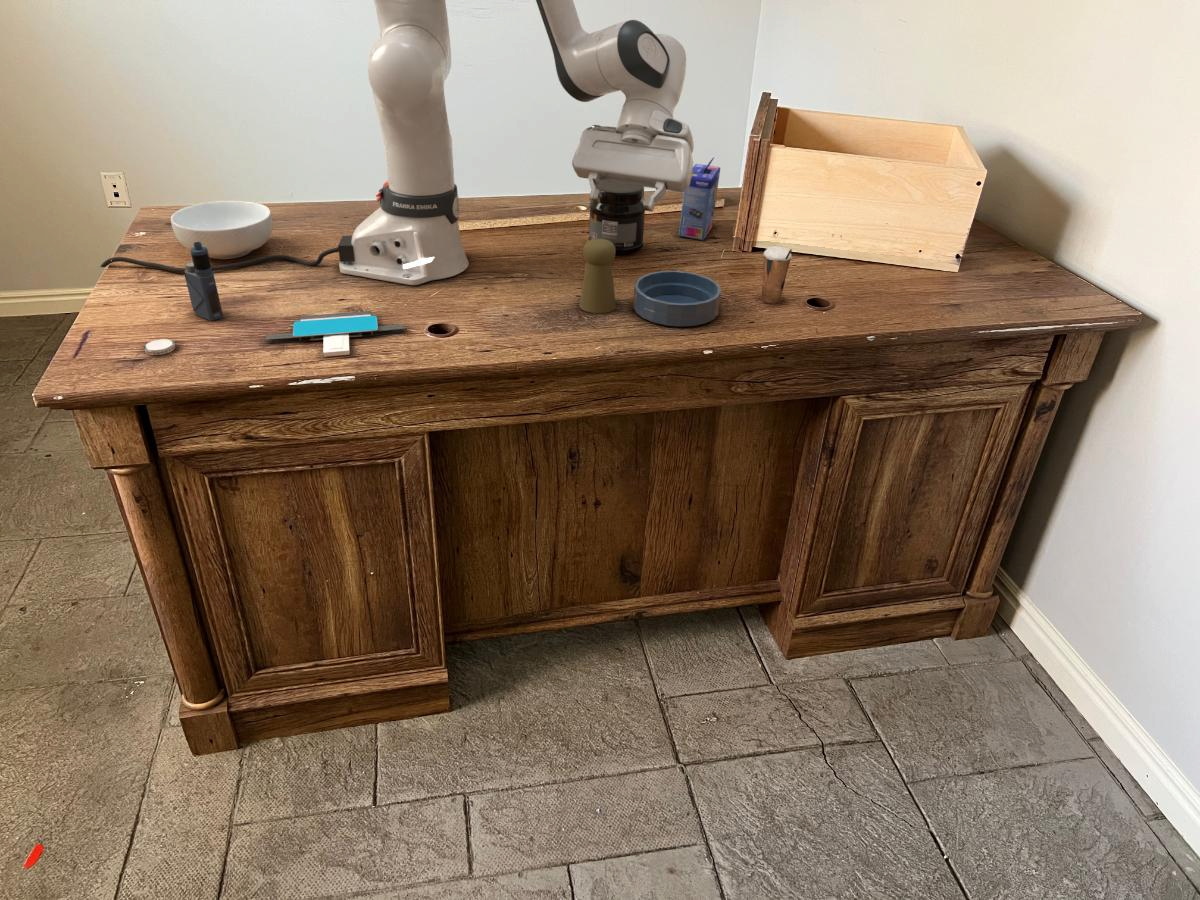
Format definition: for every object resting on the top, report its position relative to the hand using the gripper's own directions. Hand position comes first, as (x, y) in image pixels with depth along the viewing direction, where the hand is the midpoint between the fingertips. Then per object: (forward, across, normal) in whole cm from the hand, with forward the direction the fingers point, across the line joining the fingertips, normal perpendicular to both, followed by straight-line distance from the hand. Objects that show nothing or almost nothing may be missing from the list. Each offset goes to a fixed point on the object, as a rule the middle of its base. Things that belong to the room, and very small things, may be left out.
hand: (620, 205), depth 142 cm
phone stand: (+36, -31, -16) cm, 51 cm away
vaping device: (+38, -54, -18) cm, 68 cm away
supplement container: (-2, -6, +22) cm, 23 cm away
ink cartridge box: (-13, +6, +33) cm, 36 cm away
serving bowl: (+14, +12, +6) cm, 20 cm away
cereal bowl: (+21, -69, -1) cm, 73 cm away
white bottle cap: (+46, -52, -26) cm, 74 cm away
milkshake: (+7, +26, +13) cm, 30 cm away
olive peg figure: (+17, 0, +3) cm, 17 cm away
